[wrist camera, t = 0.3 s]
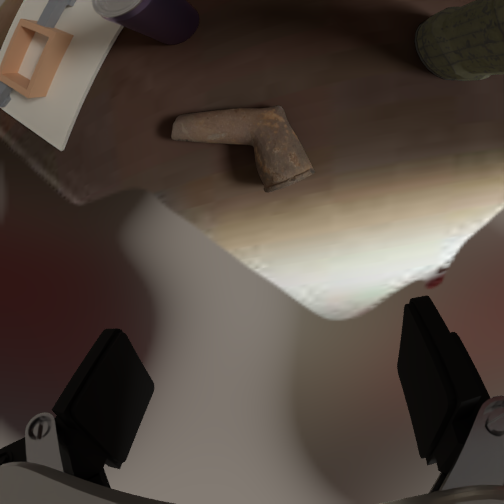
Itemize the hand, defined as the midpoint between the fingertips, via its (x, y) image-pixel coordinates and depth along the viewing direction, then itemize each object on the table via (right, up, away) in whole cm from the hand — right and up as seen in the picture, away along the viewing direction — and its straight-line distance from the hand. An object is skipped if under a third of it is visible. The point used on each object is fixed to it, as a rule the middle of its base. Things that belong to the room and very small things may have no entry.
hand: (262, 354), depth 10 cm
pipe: (-1, +16, +27) cm, 31 cm away
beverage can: (-9, +31, +20) cm, 38 cm away
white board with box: (-32, +33, +21) cm, 50 cm away
